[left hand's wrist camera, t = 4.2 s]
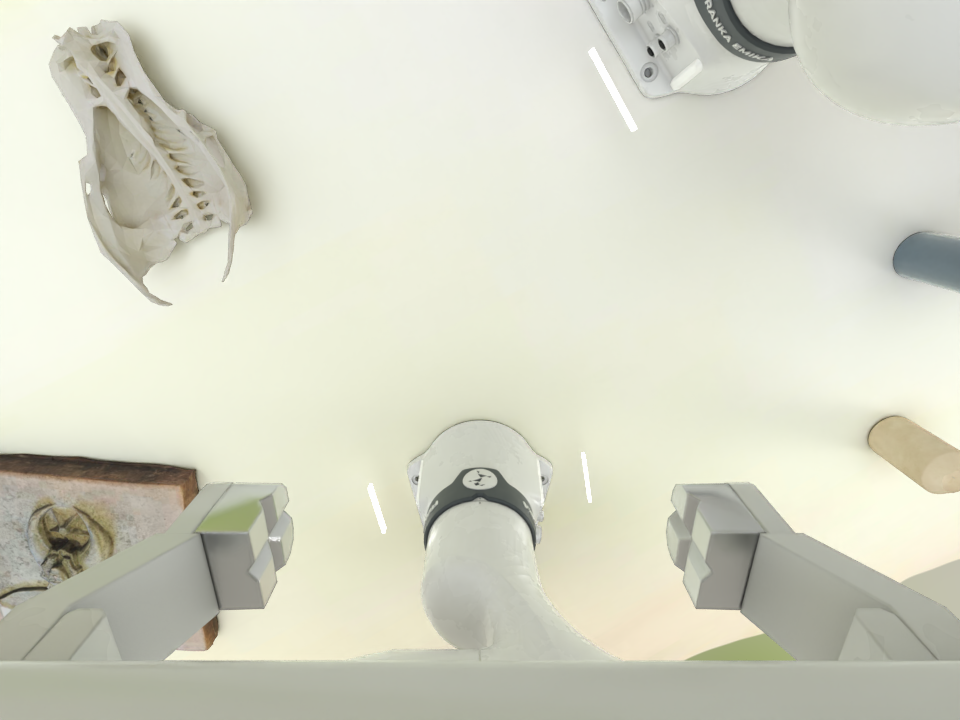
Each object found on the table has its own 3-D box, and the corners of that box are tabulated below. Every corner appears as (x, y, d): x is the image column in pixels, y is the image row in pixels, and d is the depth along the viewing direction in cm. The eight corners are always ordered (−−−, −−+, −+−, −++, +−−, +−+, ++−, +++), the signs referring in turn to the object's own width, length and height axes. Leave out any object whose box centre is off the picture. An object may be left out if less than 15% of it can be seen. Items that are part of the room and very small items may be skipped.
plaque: (167, 499, 60) (194, 678, 71) (199, 465, 66) (219, 634, 77) (-97, 476, 59) (-29, 661, 70) (-39, 445, 66) (16, 618, 77)
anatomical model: (132, 322, 50) (-60, 51, 41) (180, 296, 59) (31, 67, 50) (264, 265, 48) (94, -32, 39) (295, 247, 57) (161, -1, 48)
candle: (869, 419, 64) (935, 464, 55) (914, 412, 63) (989, 455, 54) (865, 456, 66) (929, 505, 57) (910, 449, 65) (981, 497, 56)
